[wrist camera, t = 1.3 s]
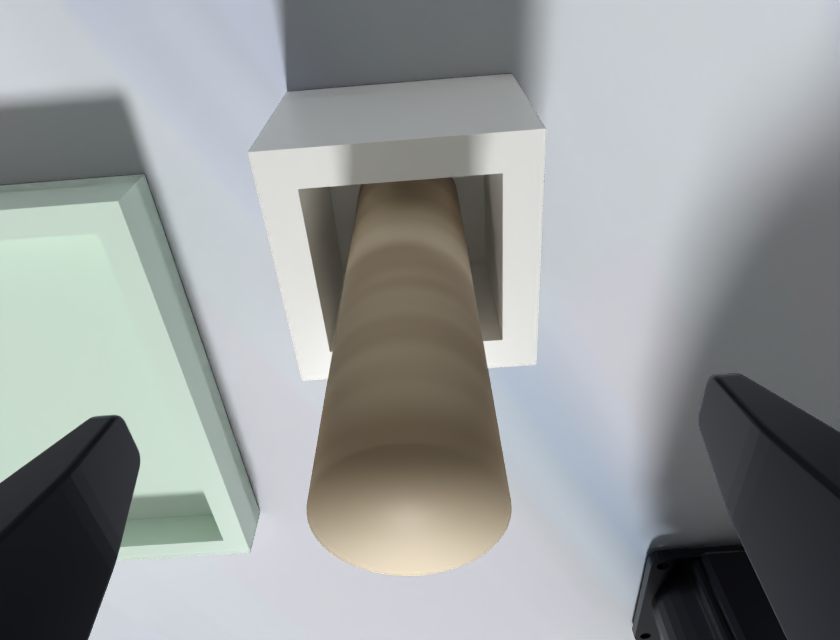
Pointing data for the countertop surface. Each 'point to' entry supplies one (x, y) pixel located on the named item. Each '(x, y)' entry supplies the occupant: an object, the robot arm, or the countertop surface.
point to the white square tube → (402, 161)
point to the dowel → (408, 396)
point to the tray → (116, 360)
